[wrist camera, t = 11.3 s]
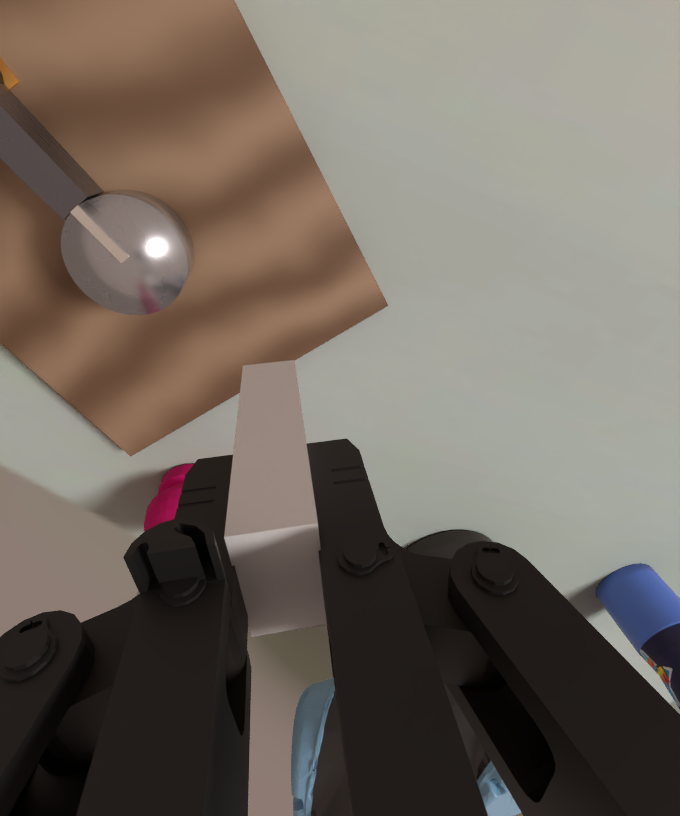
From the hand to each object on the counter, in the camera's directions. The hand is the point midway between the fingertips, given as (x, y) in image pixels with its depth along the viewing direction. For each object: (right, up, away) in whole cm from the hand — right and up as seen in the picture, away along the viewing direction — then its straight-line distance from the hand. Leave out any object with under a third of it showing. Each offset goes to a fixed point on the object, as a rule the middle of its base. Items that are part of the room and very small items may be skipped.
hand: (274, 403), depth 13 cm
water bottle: (+46, -27, +52) cm, 74 cm away
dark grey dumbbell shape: (-14, +14, +13) cm, 24 cm away
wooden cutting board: (-12, +12, +17) cm, 24 cm away
